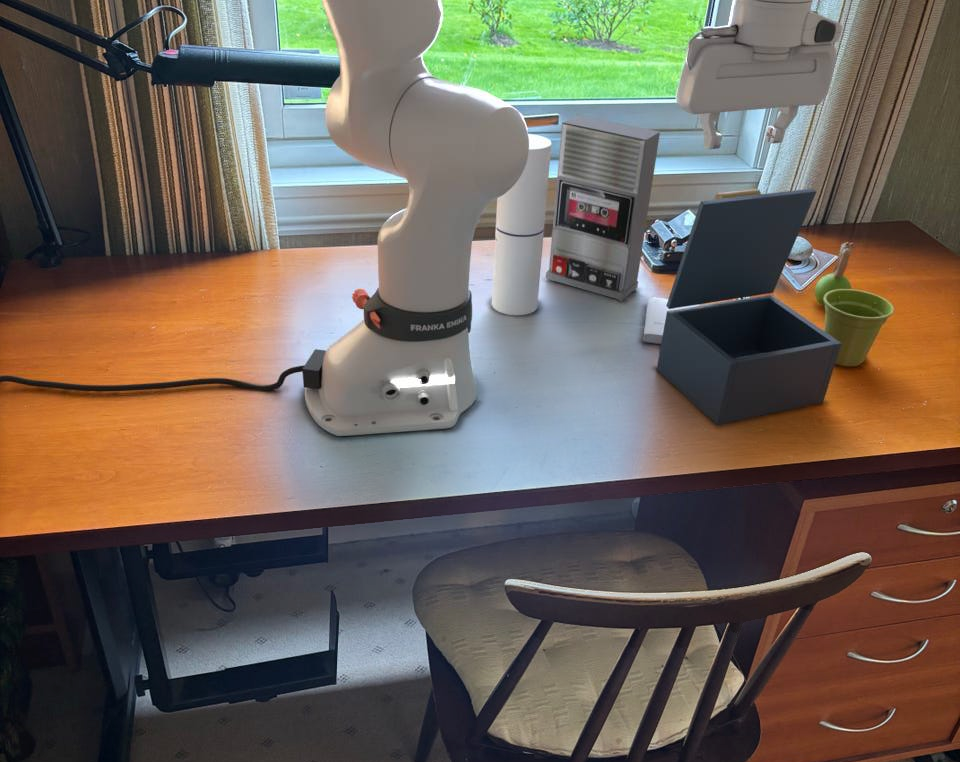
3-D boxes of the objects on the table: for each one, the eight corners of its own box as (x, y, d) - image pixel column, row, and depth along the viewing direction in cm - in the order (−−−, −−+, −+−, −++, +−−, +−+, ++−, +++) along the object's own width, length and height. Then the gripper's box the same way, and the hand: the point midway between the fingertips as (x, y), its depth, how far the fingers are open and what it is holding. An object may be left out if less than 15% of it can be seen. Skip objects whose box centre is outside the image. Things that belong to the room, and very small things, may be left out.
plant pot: (800, 340, 137) (815, 287, 131) (862, 342, 137) (879, 289, 132) (819, 372, 129) (836, 316, 124) (885, 374, 129) (904, 319, 124)
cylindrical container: (506, 318, 138) (516, 151, 123) (483, 299, 143) (491, 136, 128) (546, 310, 141) (561, 145, 126) (522, 291, 146) (534, 131, 131)
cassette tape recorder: (544, 280, 150) (558, 123, 135) (561, 268, 154) (577, 114, 139) (621, 302, 144) (644, 141, 129) (637, 289, 149) (661, 131, 134)
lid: (816, 191, 116) (794, 171, 119) (703, 204, 110) (683, 182, 113) (773, 293, 128) (753, 272, 131) (668, 309, 122) (651, 287, 125)
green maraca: (810, 313, 144) (831, 240, 137) (810, 296, 149) (830, 225, 142) (846, 318, 143) (868, 246, 136) (845, 302, 148) (867, 230, 141)
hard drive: (699, 312, 143) (698, 349, 133) (646, 305, 144) (642, 342, 134) (701, 302, 142) (700, 339, 132) (648, 296, 143) (644, 332, 133)
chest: (823, 402, 122) (841, 343, 117) (716, 425, 117) (731, 363, 112) (756, 350, 133) (770, 294, 128) (656, 369, 128) (666, 310, 123)
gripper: (707, 33, 101) (685, 159, 109) (854, 26, 107) (823, 146, 116) (676, 21, 105) (658, 143, 114) (819, 15, 112) (792, 131, 120)
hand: (742, 145), depth 115 cm, fingers open, 8 cm apart
